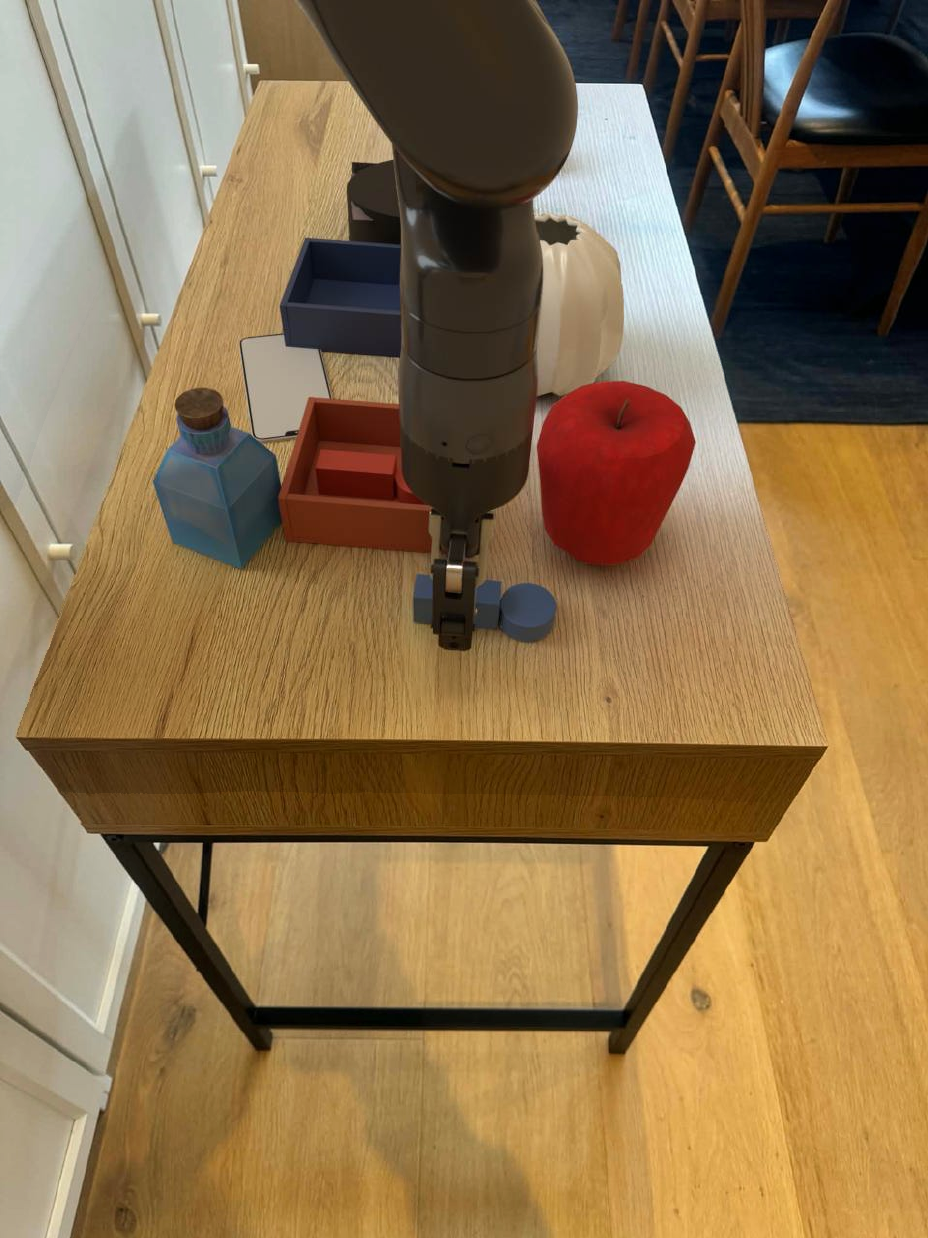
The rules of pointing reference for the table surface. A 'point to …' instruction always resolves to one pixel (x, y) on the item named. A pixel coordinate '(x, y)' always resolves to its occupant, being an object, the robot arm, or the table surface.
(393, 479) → the red spoon
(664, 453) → the apple
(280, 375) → the smartphone
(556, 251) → the vase
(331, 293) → the navy bin
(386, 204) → the black oval cylinder
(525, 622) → the blue spoon
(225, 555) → the perfume bottle
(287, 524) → the terracotta bin
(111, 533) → the table surface
